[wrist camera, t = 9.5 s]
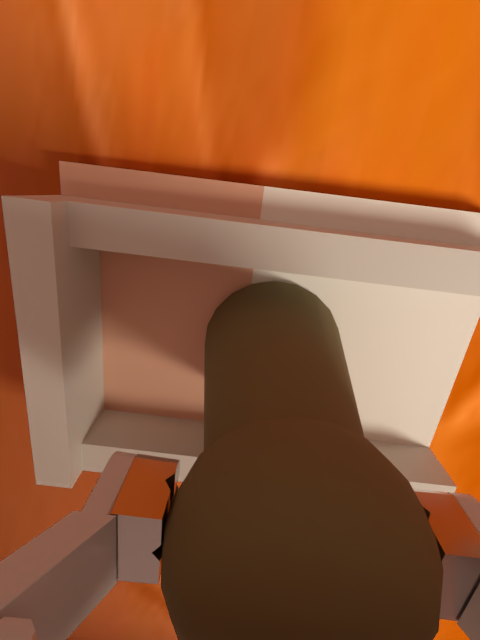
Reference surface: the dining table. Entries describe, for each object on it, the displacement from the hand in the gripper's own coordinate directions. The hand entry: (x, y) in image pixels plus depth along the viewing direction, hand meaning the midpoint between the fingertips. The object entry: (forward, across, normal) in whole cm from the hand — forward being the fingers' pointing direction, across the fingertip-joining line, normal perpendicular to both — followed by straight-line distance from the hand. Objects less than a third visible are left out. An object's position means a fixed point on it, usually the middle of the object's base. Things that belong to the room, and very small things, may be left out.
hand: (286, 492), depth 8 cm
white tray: (+10, 0, 0) cm, 10 cm away
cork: (+8, 0, 0) cm, 8 cm away
